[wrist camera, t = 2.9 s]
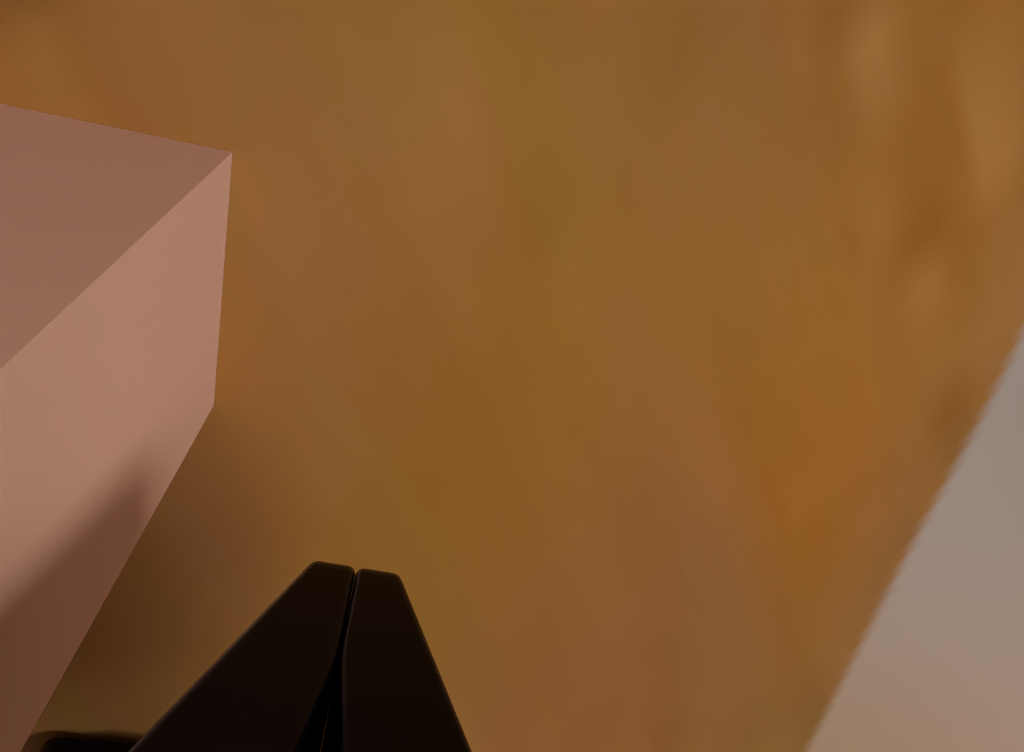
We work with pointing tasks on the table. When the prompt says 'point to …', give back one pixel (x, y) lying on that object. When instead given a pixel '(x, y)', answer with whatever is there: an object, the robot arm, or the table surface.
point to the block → (94, 369)
